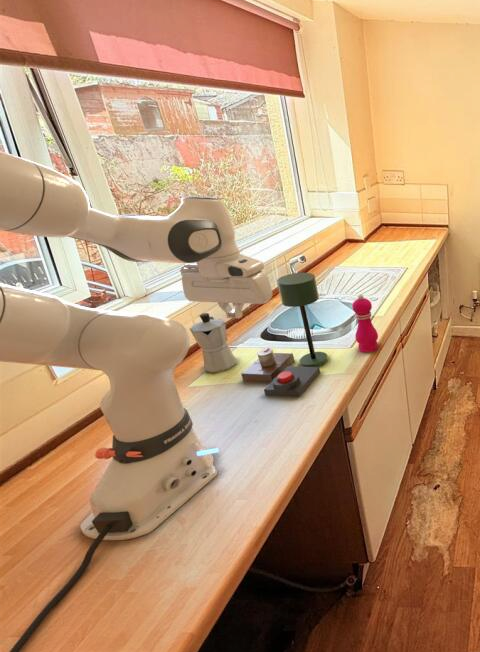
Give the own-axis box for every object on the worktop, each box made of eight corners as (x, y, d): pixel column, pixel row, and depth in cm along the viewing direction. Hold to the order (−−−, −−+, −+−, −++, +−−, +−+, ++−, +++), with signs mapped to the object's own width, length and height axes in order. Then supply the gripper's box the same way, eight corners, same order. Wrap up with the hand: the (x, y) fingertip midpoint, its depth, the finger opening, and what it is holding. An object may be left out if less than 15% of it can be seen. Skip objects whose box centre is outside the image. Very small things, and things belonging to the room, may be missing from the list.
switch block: (299, 397, 112) (296, 386, 111) (265, 396, 113) (261, 384, 111) (320, 373, 123) (318, 362, 122) (289, 372, 124) (286, 361, 122)
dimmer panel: (272, 383, 118) (270, 374, 117) (243, 382, 119) (240, 373, 117) (294, 361, 129) (292, 353, 128) (267, 360, 130) (265, 352, 128)
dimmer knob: (270, 366, 121) (267, 354, 119) (257, 366, 121) (254, 354, 119) (278, 359, 124) (274, 347, 123) (265, 359, 125) (262, 347, 123)
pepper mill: (352, 350, 136) (343, 296, 128) (368, 341, 142) (360, 289, 134) (368, 355, 133) (359, 300, 125) (383, 346, 139) (376, 293, 131)
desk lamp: (322, 371, 124) (303, 285, 112) (290, 370, 125) (269, 283, 113) (336, 354, 133) (320, 273, 122) (307, 353, 134) (288, 272, 122)
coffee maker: (238, 370, 124) (221, 318, 117) (203, 379, 119) (184, 326, 112) (236, 349, 135) (221, 301, 128) (204, 357, 131) (187, 307, 123)
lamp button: (288, 383, 112) (287, 378, 111) (276, 383, 112) (274, 378, 112) (295, 376, 115) (294, 371, 115) (283, 375, 116) (282, 370, 115)
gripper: (167, 267, 93) (185, 321, 98) (252, 270, 92) (266, 324, 97) (189, 259, 99) (204, 310, 104) (269, 262, 98) (281, 313, 103)
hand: (235, 317), depth 101 cm, fingers closed
